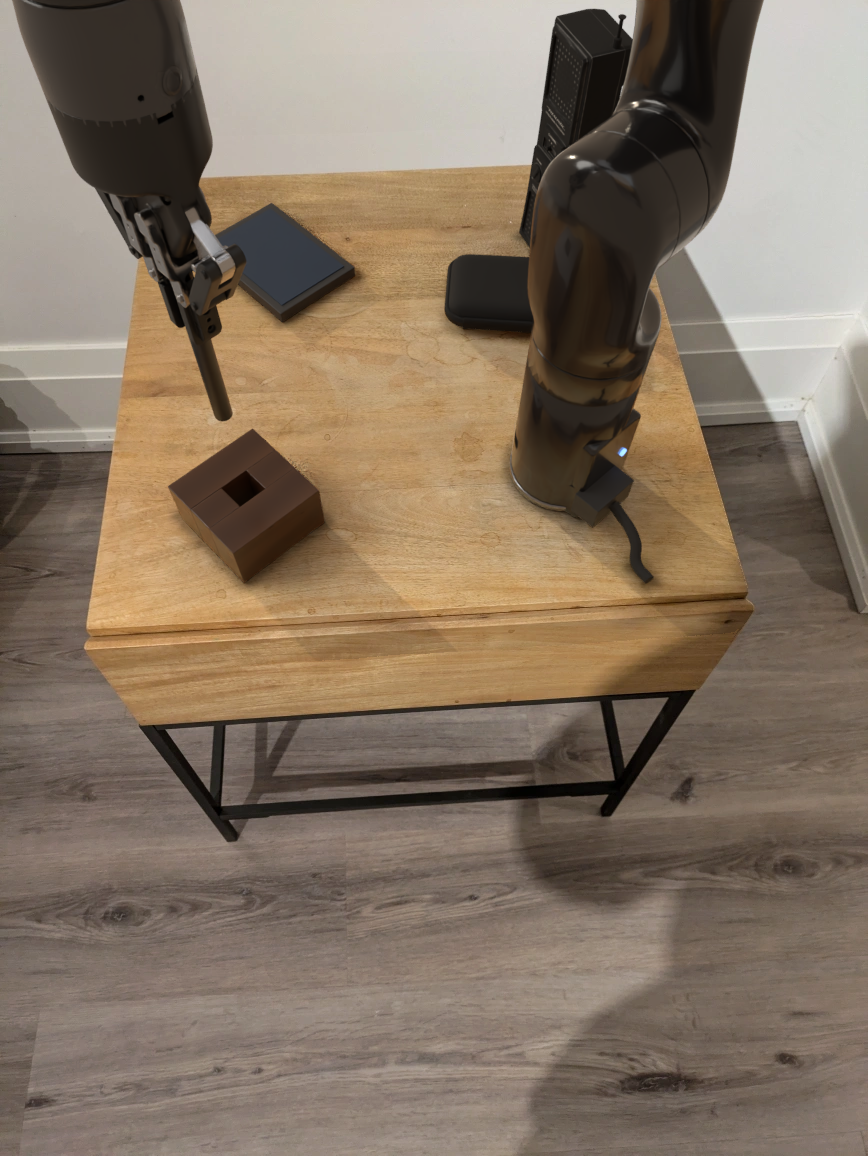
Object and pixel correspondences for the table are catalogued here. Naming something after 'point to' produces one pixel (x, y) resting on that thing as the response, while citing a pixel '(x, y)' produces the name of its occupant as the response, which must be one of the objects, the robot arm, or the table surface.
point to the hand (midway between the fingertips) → (197, 327)
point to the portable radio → (577, 88)
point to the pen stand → (248, 504)
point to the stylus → (211, 376)
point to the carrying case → (488, 293)
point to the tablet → (284, 262)
